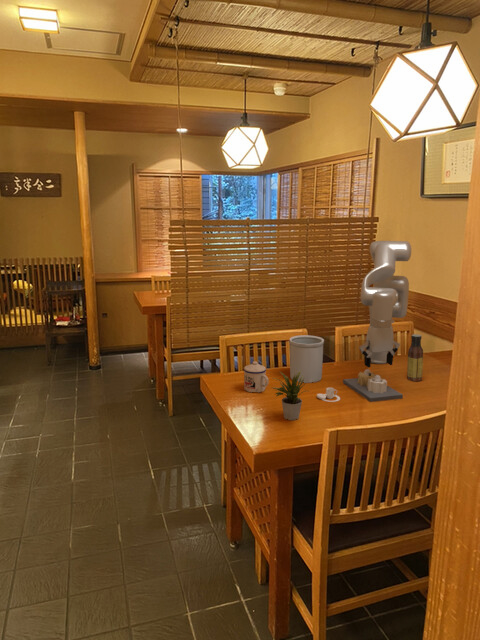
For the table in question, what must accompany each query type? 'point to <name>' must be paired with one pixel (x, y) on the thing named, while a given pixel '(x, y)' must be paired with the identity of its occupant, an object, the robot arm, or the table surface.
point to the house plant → (291, 397)
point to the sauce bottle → (415, 359)
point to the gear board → (361, 388)
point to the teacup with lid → (255, 378)
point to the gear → (377, 386)
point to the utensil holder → (306, 357)
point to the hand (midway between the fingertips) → (378, 365)
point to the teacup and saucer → (328, 395)
